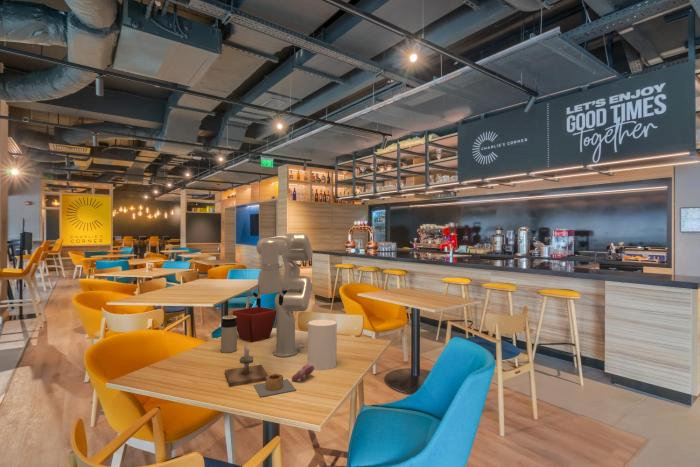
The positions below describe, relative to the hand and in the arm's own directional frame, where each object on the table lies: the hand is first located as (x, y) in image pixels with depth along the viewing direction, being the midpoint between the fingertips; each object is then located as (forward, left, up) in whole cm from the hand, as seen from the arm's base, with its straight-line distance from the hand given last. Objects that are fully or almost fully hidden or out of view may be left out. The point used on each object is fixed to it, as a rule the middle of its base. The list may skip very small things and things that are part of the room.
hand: (269, 305), depth 159 cm
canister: (-25, +1, -30) cm, 39 cm away
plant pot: (-5, -59, -30) cm, 66 cm away
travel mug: (+12, -40, -30) cm, 51 cm away
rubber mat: (+2, +18, -30) cm, 35 cm away
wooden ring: (+2, +18, -29) cm, 34 cm away
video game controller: (-12, +13, -30) cm, 35 cm away
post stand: (+10, +1, -30) cm, 31 cm away
